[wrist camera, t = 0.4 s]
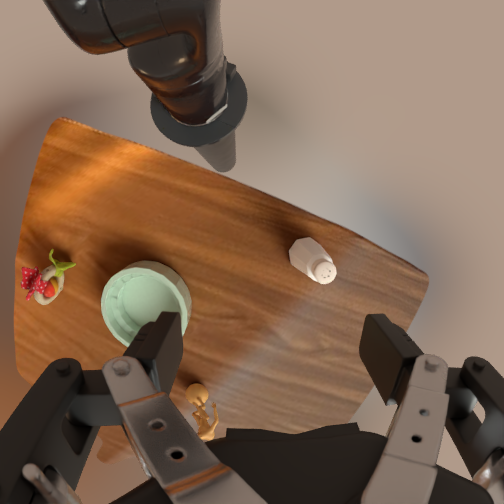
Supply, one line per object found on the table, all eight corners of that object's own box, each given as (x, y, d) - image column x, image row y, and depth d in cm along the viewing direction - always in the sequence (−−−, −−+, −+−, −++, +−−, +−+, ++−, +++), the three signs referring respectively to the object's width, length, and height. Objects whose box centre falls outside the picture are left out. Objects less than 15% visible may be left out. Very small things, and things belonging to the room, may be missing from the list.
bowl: (126, 245, 43) (114, 252, 38) (204, 281, 45) (201, 292, 40) (105, 317, 45) (93, 329, 40) (175, 350, 47) (170, 366, 42)
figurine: (201, 368, 48) (193, 412, 36) (229, 384, 49) (228, 430, 37) (177, 395, 49) (166, 439, 37) (204, 410, 50) (198, 455, 38)
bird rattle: (80, 288, 46) (79, 249, 41) (49, 331, 37) (40, 293, 32) (54, 275, 45) (51, 236, 40) (22, 314, 36) (11, 276, 31)
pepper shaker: (292, 233, 44) (309, 246, 33) (326, 240, 44) (352, 255, 34) (284, 267, 45) (298, 290, 34) (317, 274, 45) (340, 297, 35)
